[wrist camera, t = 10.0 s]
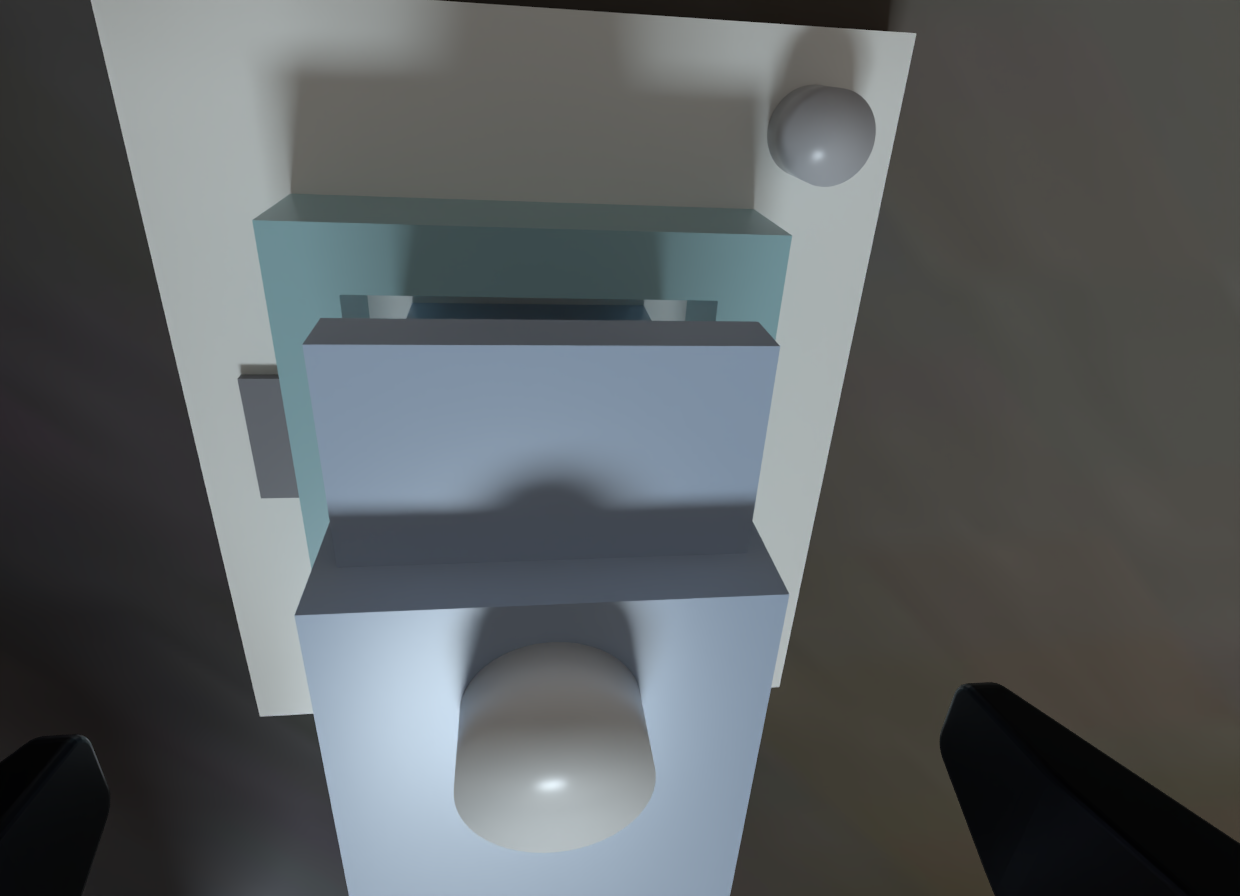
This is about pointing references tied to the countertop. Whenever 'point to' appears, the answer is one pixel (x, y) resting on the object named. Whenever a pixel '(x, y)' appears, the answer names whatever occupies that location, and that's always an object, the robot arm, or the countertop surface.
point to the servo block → (540, 597)
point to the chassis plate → (485, 218)
